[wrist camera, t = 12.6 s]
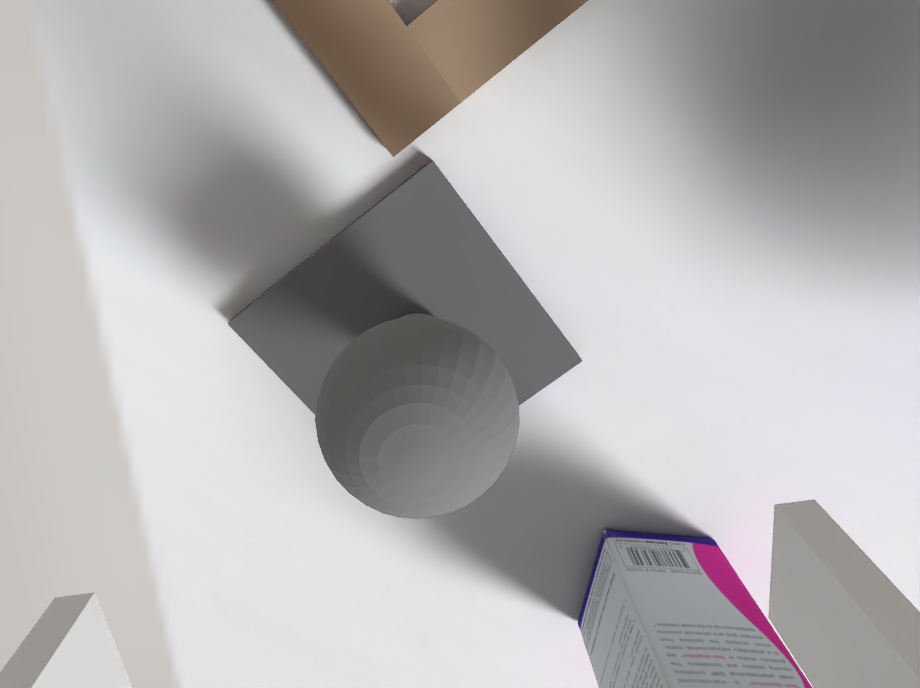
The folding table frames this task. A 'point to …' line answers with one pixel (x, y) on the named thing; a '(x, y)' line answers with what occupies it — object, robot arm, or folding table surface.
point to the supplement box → (677, 619)
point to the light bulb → (417, 417)
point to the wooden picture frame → (418, 53)
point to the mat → (404, 292)
